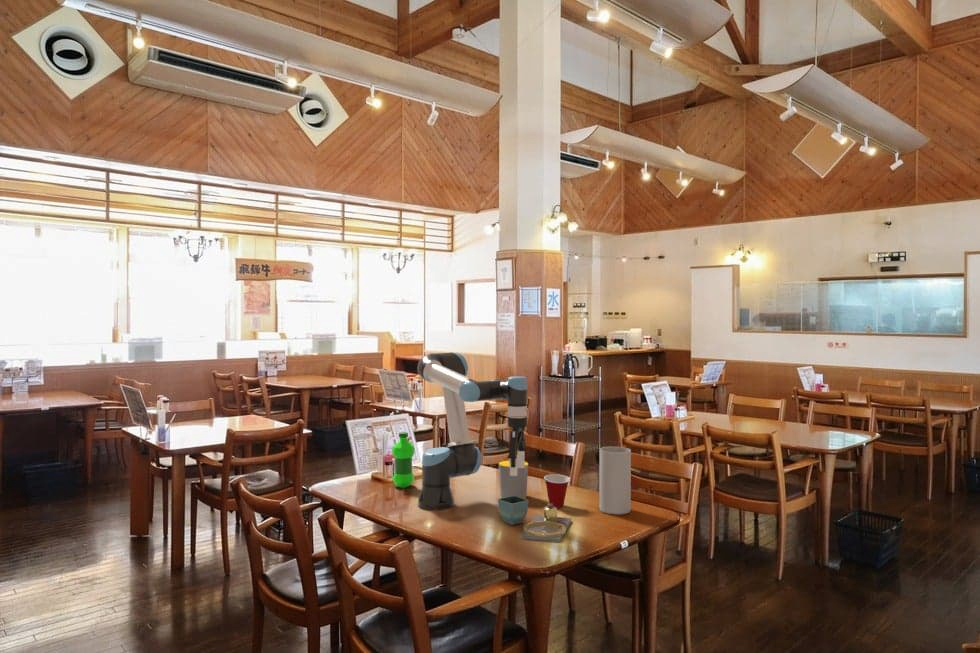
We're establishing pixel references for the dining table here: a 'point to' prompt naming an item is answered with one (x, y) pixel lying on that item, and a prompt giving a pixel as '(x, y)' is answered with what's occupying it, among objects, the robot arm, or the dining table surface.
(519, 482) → the soap bottle
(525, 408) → the robot arm
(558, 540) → the board
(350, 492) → the dining table surface
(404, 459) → the plastic bottle
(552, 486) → the plastic cup
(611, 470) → the cylinder vase
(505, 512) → the flower pot
